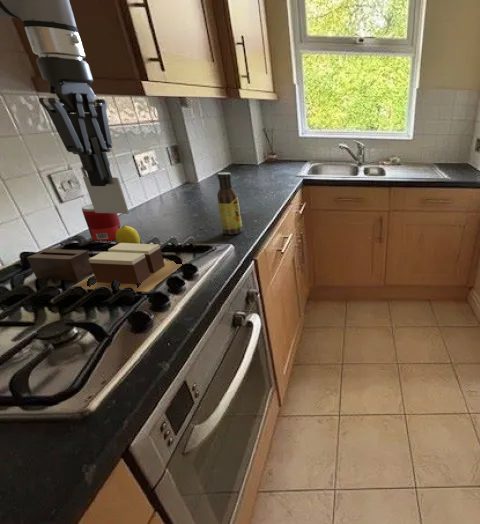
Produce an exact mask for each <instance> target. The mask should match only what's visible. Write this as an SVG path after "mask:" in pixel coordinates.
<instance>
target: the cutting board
mask: <svg viewBox="0 0 480 524" xmlns="http://www.w3.org/2000/svg"><path fill="white" fill-rule="evenodd" d="M174 261H175V260H164V264H165V266H164V267H162V268H161V269H160V270H158V271H157V272H155V273H150V275H151V276H150V277H148V278H147V279H146V280H144V281H143V282H142V283H141V285H140V286H139V287H138V288H137V285H136V284H121V283H120V286H119V289H123V288H126V287H131V288H133V289H134V291H133V292H141V293H142V292H143V293H149V291H151V290H152V289H153V288H155V287H156V286H157V285H158V284H160V283H161V282H163V281H164V280H165V279H166V278H168V277H169V276H170V275H171V274H173V273H174V272H175V271H177V270H178V269H179V268H180V267H182V266H183V265H184V264H185V263H187V261H182V264H183V265H182V264H176V263H175V262H174ZM92 276H94V273H92V275H91V274H90V276H87V277H86V278H84V279H81V281H79V282H77V283H76V284H73V285H71V287H74V286H81V287H82V288H83V289H82V290H95V288H97V287H100V286H106V287H108V288H110V289H111V283H100V282H96V283H95V284H94V285H91V286H90V287H89V286H87V281H88V279H89V278H90V277H92ZM71 287H69V289H72V288H71Z"/></svg>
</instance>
